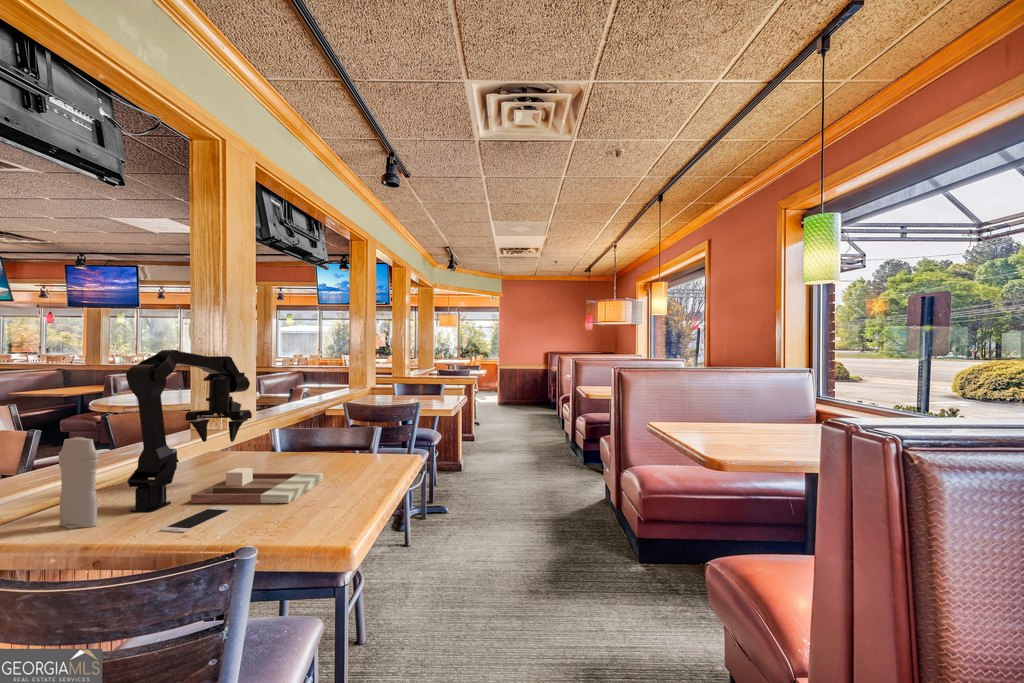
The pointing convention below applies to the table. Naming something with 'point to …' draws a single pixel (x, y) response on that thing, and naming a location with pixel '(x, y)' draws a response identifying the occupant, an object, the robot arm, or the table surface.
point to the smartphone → (197, 519)
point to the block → (239, 476)
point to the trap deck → (260, 489)
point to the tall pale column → (78, 483)
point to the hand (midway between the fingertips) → (218, 441)
